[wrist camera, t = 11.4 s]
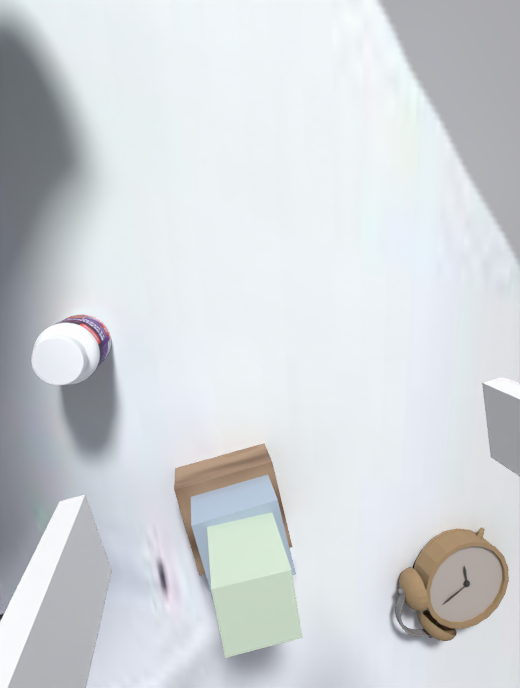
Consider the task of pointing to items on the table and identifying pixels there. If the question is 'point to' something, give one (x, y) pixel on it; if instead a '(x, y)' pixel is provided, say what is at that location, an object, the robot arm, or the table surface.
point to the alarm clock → (453, 583)
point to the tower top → (234, 512)
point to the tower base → (222, 483)
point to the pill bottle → (70, 350)
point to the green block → (252, 585)
